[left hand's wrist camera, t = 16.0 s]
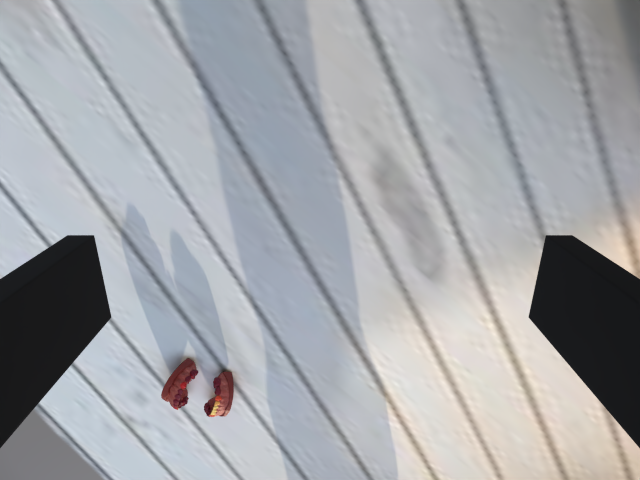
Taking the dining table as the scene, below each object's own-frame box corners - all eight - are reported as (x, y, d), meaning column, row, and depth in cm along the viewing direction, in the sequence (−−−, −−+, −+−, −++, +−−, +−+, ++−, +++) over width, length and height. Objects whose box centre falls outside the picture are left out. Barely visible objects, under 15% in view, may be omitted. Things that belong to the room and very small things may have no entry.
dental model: (221, 434, 49) (154, 413, 48) (228, 408, 53) (166, 388, 52) (236, 397, 48) (166, 375, 47) (242, 373, 52) (178, 352, 51)
